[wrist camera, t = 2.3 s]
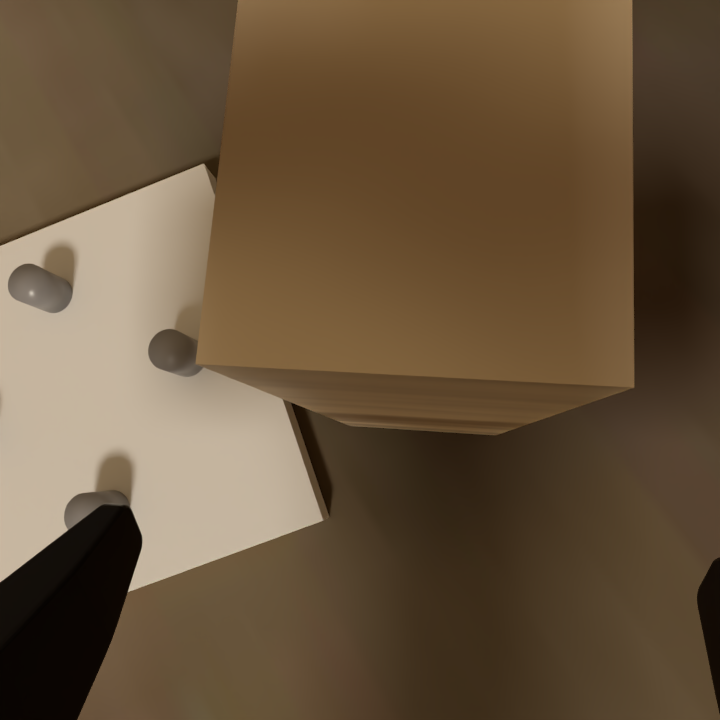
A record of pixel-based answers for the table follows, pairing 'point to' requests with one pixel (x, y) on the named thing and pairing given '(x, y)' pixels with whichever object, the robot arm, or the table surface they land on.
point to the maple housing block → (426, 210)
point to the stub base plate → (135, 392)
